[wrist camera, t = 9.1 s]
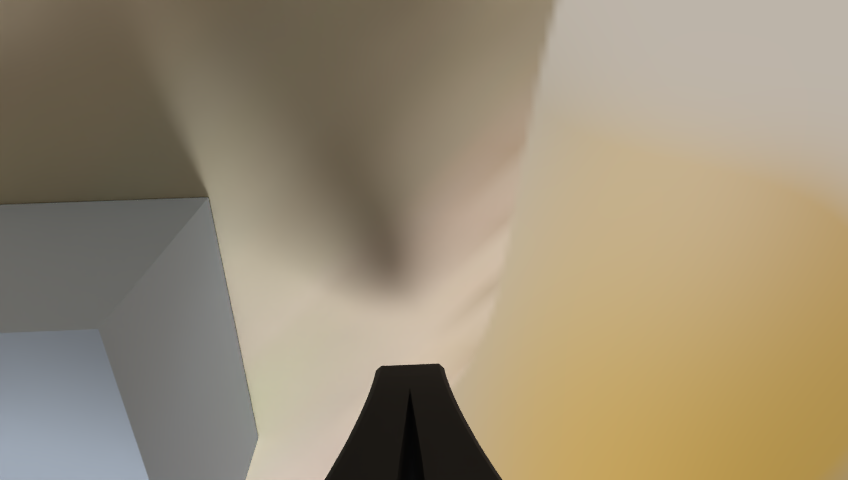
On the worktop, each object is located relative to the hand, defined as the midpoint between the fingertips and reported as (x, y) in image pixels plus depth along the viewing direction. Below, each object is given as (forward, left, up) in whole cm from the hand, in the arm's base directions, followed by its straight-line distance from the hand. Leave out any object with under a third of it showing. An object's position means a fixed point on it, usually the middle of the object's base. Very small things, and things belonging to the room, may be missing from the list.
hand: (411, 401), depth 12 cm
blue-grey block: (0, +7, -3) cm, 8 cm away
